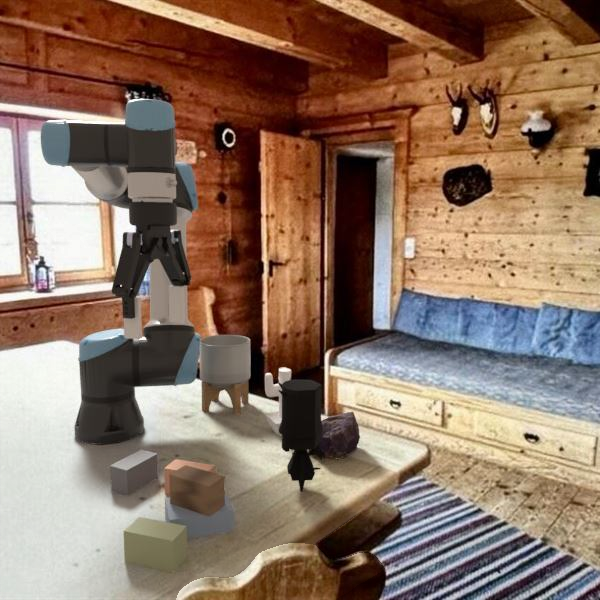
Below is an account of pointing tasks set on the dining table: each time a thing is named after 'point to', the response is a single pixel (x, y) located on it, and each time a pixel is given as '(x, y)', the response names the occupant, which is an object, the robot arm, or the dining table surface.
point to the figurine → (272, 391)
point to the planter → (225, 369)
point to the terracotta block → (180, 463)
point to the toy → (301, 426)
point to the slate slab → (201, 519)
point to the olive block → (155, 544)
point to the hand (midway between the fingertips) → (156, 329)
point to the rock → (339, 435)
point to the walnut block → (197, 490)
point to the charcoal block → (134, 472)
